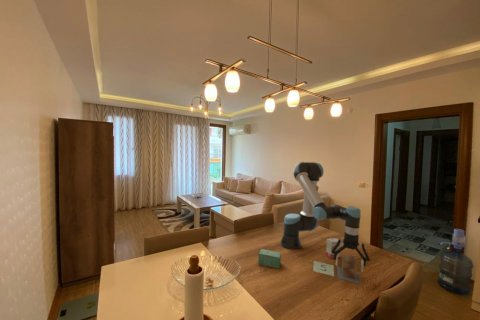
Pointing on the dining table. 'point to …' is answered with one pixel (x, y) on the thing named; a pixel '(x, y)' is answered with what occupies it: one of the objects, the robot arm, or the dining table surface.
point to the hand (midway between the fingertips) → (348, 267)
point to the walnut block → (349, 266)
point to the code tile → (323, 268)
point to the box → (269, 258)
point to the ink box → (331, 247)
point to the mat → (357, 280)
